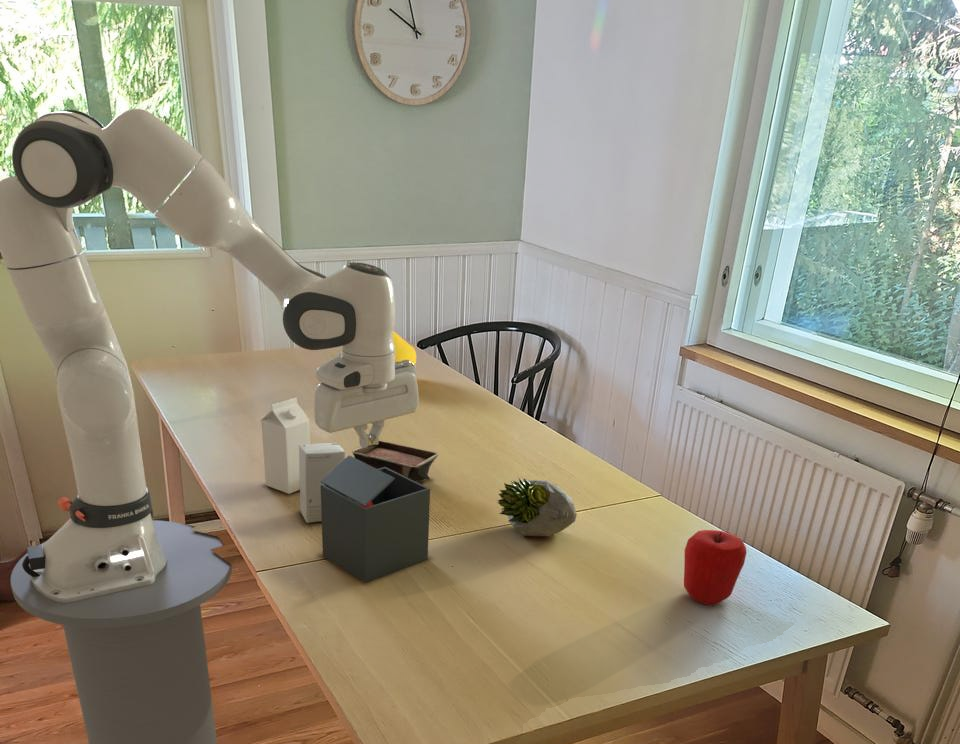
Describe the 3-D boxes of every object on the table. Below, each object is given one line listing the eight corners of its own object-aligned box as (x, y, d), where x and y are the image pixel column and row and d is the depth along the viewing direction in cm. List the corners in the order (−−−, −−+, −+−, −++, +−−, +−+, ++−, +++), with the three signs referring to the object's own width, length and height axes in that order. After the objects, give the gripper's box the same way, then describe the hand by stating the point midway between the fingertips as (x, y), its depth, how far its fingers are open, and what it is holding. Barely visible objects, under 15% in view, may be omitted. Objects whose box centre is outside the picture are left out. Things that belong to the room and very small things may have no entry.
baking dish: (385, 472, 206) (378, 431, 201) (448, 479, 198) (443, 437, 193) (348, 496, 196) (340, 454, 191) (414, 504, 187) (407, 461, 182)
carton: (365, 582, 156) (364, 509, 149) (322, 556, 164) (320, 484, 156) (427, 558, 166) (430, 488, 158) (384, 534, 173) (385, 466, 166)
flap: (365, 506, 149) (364, 504, 148) (321, 482, 156) (320, 480, 156) (394, 479, 151) (394, 477, 151) (349, 456, 159) (348, 455, 158)
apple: (733, 589, 163) (749, 523, 156) (734, 616, 154) (751, 548, 147) (677, 579, 165) (690, 514, 158) (675, 606, 156) (689, 538, 149)
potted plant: (580, 532, 172) (514, 520, 165) (546, 548, 183) (483, 537, 177) (580, 475, 174) (515, 460, 168) (547, 494, 186) (485, 481, 179)
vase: (391, 369, 273) (391, 306, 263) (428, 384, 261) (430, 319, 252) (342, 378, 262) (341, 312, 252) (379, 394, 250) (379, 326, 241)
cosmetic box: (306, 524, 175) (303, 454, 168) (299, 511, 180) (296, 443, 172) (347, 519, 178) (345, 450, 171) (339, 507, 183) (337, 440, 175)
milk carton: (265, 485, 190) (259, 401, 180) (289, 476, 195) (284, 393, 185) (288, 494, 187) (284, 409, 177) (312, 485, 192) (308, 401, 182)
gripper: (404, 353, 153) (403, 428, 161) (307, 371, 141) (310, 452, 148) (427, 362, 150) (425, 438, 157) (330, 381, 137) (332, 463, 144)
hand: (369, 445), depth 152 cm, fingers closed
